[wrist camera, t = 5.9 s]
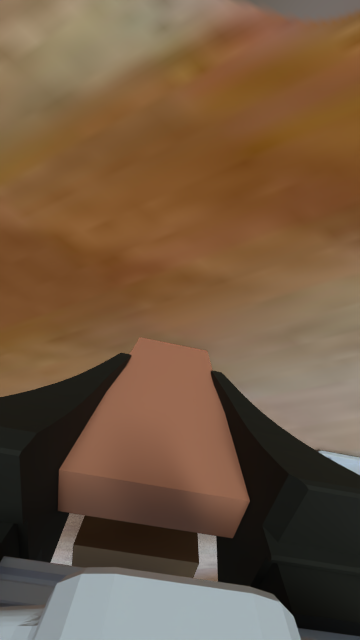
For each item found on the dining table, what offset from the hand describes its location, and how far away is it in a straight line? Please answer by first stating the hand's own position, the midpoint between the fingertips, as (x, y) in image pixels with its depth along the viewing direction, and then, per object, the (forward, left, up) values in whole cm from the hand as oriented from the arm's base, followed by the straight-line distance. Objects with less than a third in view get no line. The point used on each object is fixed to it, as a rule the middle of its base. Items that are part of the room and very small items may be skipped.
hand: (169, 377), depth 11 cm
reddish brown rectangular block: (0, 0, -3) cm, 3 cm away
